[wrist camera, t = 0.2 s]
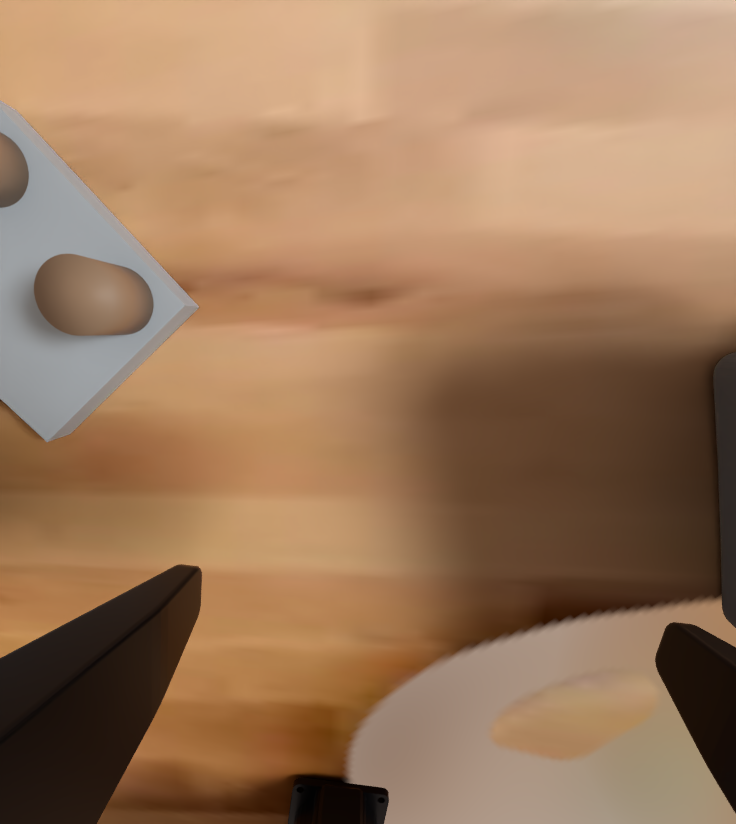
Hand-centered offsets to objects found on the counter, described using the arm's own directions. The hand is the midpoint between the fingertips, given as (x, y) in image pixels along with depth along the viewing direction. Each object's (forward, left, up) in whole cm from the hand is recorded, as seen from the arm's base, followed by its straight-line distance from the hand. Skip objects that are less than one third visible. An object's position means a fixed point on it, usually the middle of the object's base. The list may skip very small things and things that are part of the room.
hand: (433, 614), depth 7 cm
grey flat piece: (+3, +22, -15) cm, 27 cm away
